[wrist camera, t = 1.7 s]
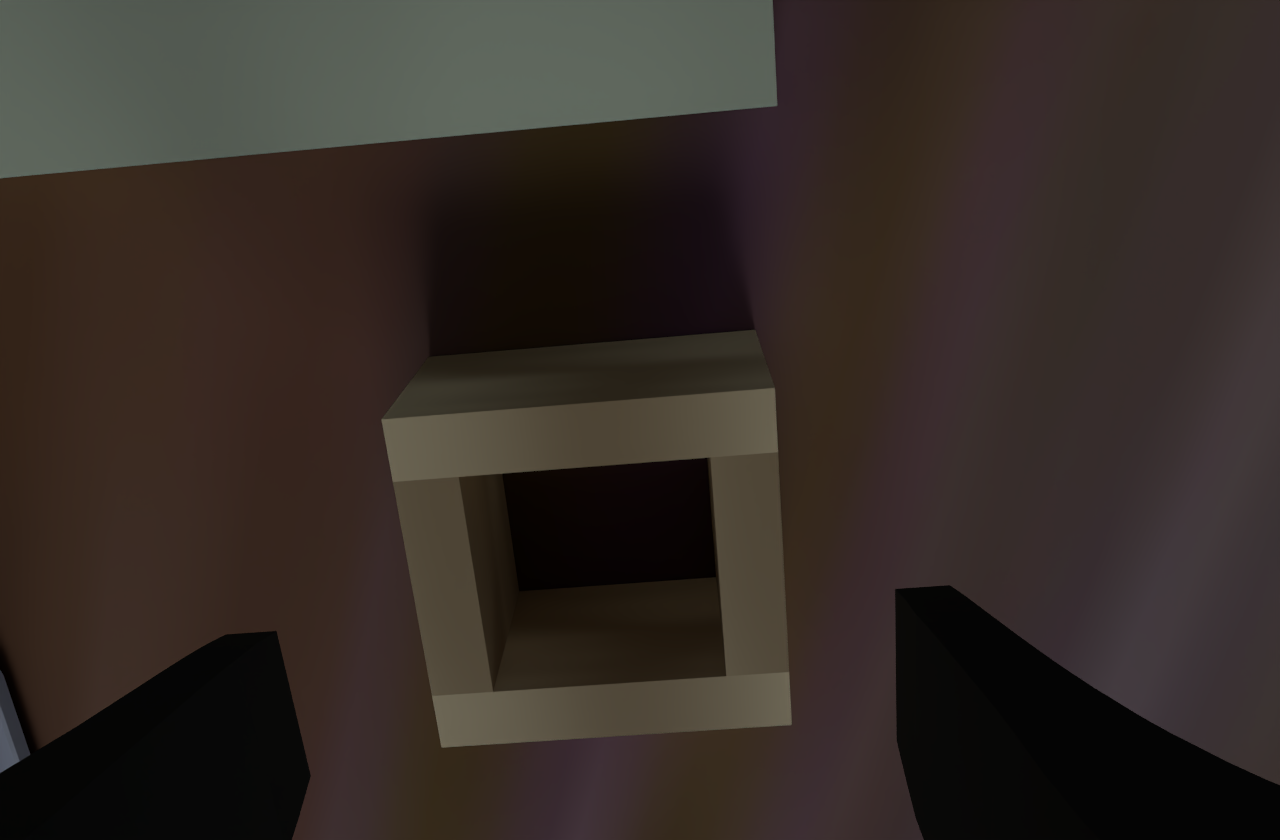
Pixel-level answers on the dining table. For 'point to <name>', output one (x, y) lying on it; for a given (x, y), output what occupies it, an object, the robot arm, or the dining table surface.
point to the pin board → (354, 72)
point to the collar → (607, 614)
